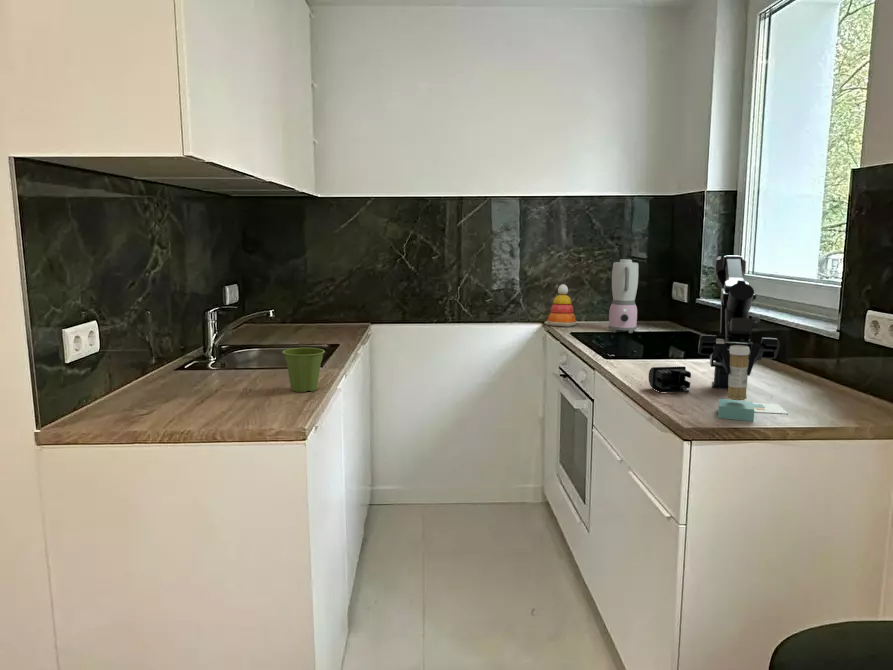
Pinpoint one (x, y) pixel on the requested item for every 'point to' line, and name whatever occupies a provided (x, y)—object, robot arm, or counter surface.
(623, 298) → the blender
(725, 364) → the robot arm
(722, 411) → the brick
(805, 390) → the counter surface
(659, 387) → the end cap
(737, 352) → the sprinkles bottle
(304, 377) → the plant pot
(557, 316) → the stacking toy
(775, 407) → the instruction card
